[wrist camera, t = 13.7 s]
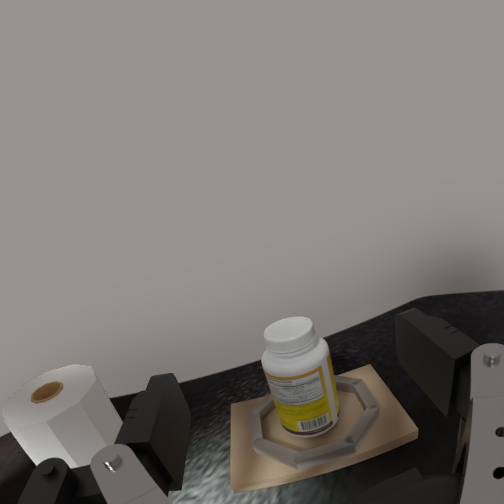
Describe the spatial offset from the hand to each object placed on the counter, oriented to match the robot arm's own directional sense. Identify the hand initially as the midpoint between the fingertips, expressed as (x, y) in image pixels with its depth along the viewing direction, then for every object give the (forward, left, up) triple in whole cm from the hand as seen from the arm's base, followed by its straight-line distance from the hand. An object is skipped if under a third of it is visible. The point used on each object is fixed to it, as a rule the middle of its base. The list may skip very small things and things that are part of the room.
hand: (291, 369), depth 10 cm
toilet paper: (-20, +9, -17) cm, 28 cm away
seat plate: (+1, +13, -16) cm, 21 cm away
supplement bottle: (+1, +13, -15) cm, 20 cm away
